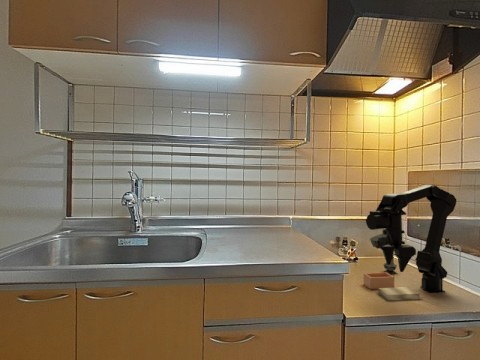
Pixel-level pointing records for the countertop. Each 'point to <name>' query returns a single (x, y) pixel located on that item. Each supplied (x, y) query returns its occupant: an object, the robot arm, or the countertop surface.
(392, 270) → the salt shaker
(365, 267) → the countertop surface
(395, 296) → the beige block on tray
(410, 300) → the mat
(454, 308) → the countertop surface
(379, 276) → the open box
